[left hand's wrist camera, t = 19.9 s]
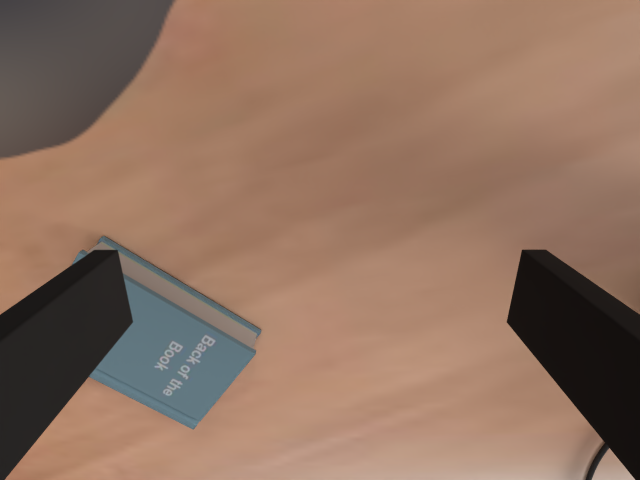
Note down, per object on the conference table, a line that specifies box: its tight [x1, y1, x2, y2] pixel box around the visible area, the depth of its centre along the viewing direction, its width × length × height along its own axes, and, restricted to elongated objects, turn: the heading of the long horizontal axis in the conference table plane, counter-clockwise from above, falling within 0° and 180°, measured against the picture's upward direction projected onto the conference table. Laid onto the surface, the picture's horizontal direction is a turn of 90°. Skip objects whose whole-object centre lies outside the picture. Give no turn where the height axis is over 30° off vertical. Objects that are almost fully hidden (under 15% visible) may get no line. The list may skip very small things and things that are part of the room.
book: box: [72, 236, 261, 429], centre depth 48 cm, size 23×16×5 cm
